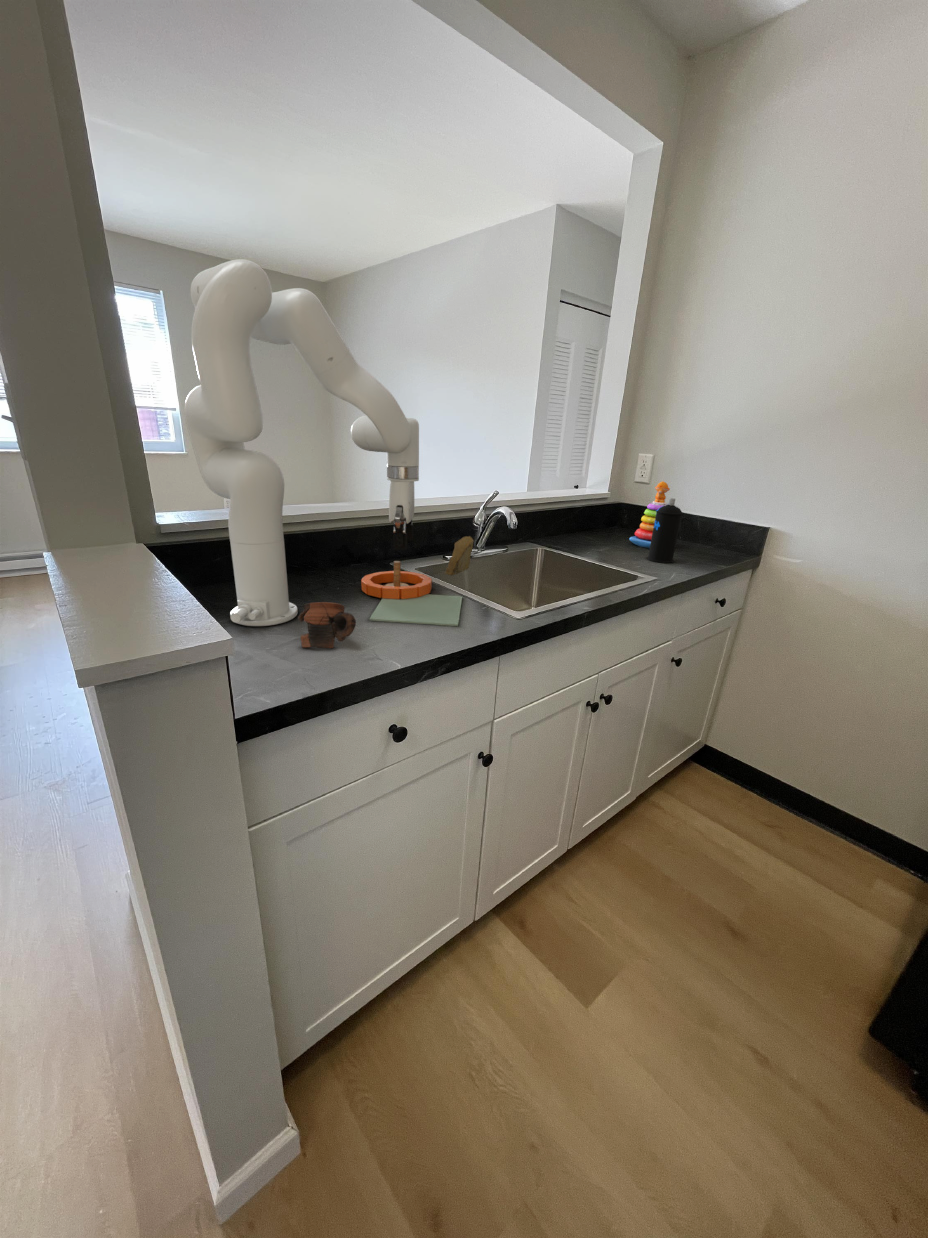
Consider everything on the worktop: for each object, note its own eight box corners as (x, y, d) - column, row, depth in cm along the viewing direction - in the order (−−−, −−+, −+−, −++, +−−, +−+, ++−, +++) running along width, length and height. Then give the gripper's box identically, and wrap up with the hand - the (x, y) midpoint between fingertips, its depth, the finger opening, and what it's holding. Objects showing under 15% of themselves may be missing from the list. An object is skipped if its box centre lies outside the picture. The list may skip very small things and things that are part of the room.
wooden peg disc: (407, 594, 117) (407, 565, 114) (382, 592, 117) (382, 564, 115) (411, 587, 122) (411, 559, 120) (387, 585, 123) (387, 557, 120)
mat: (458, 626, 100) (458, 624, 100) (369, 620, 100) (369, 618, 100) (462, 597, 117) (462, 596, 116) (386, 593, 117) (386, 591, 117)
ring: (426, 600, 112) (427, 590, 111) (354, 596, 112) (354, 586, 111) (434, 581, 127) (434, 572, 126) (371, 578, 128) (370, 569, 127)
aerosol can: (675, 560, 165) (688, 498, 158) (670, 564, 158) (683, 501, 151) (650, 555, 169) (661, 495, 162) (644, 560, 162) (655, 497, 155)
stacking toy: (675, 546, 185) (688, 482, 177) (661, 551, 176) (674, 484, 168) (641, 540, 194) (652, 478, 185) (626, 544, 185) (637, 479, 176)
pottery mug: (284, 648, 87) (286, 602, 88) (320, 653, 95) (321, 611, 97) (341, 645, 82) (342, 596, 84) (373, 650, 91) (373, 606, 92)
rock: (455, 571, 129) (484, 561, 135) (441, 541, 130) (471, 533, 135) (438, 585, 139) (466, 576, 144) (426, 558, 139) (454, 550, 145)
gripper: (393, 469, 125) (394, 536, 132) (379, 476, 109) (381, 552, 116) (423, 470, 125) (422, 537, 131) (413, 478, 109) (413, 554, 115)
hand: (403, 544), depth 123 cm, fingers open, 9 cm apart
